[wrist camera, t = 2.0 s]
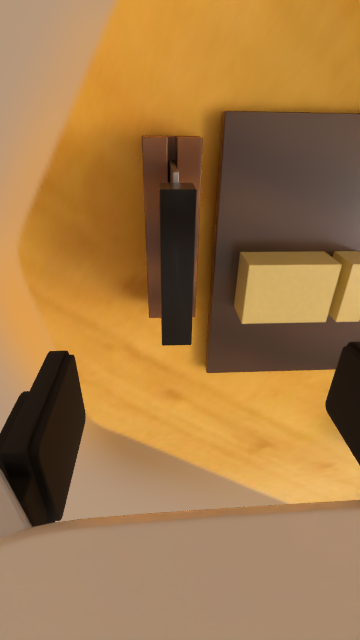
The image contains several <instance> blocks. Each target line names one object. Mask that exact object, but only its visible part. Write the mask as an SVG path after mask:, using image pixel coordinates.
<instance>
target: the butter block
mask: <svg viewBox="0 0 360 640" xmlns="http://www.w3.org/2000/svg"><path fill="white" fill-rule="evenodd" d="M341 266H342V264H340V263H339V262H338V261H336V260H335V259H334V258H332V257H331V256H330V255H328V254H327V253H326V252H324V251H309V252H240V257H239V266H238V275H237V284H236V293H235V302H234V307H235V310H236V312H237V314H238V317H239V319H240V321H241V323H242V324H254V323H304V322H326V319H327V316H328V312H329V309H330V305H331V302H332V298H333V294H334V291H335V287H336V284H337V280H338V277H339V273H340V270H341Z"/></svg>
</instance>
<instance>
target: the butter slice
mask: <svg viewBox="0 0 360 640" xmlns="http://www.w3.org/2000/svg"><path fill="white" fill-rule="evenodd" d="M333 258H334V259H335V260H336V261H338V262H339V263H340V264H342V266H341V270H340V273H339V277H338V280H337V284H336V287H335V291H334V294H333V298H332V302H331V305H330V309H329V312H328V314H329V315H330V316H331V317H332V318H333V320H334V321H335V322H359V320H360V252H358V251H334V254H333Z"/></svg>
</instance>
